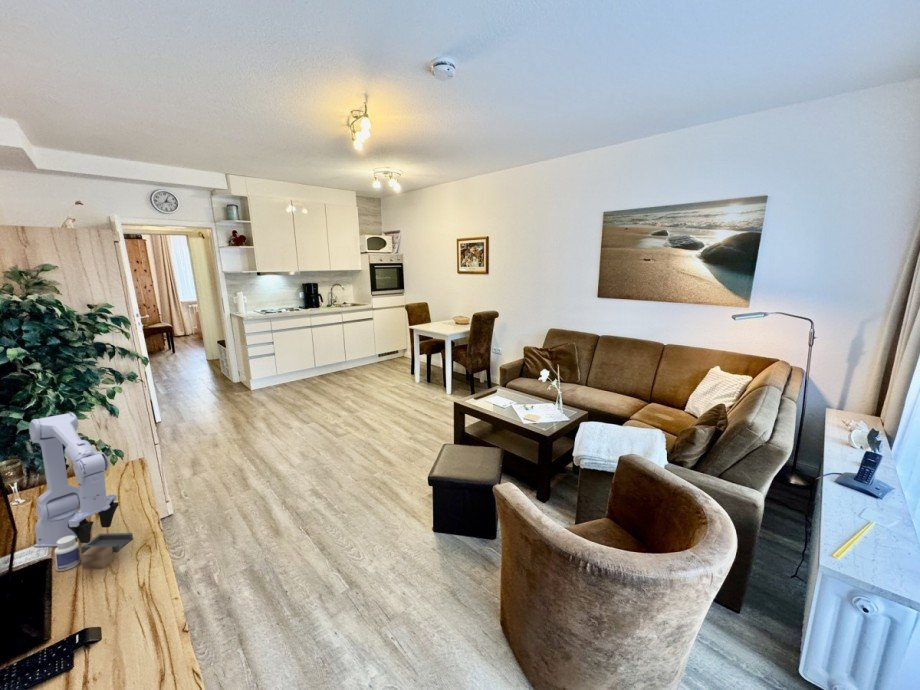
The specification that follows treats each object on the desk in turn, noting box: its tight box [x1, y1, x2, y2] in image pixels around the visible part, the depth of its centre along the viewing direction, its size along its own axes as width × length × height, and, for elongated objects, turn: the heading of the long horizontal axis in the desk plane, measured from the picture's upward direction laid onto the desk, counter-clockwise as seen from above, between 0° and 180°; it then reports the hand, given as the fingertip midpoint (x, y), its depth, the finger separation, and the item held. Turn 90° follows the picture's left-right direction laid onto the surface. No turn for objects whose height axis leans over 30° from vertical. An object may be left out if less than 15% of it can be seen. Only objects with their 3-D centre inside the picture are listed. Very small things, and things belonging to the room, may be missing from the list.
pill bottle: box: [53, 535, 81, 572], centre depth 115 cm, size 5×5×9 cm
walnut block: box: [81, 547, 114, 570], centre depth 116 cm, size 6×4×5 cm, turn 96°
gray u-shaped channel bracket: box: [80, 532, 134, 554], centre depth 125 cm, size 10×7×2 cm, turn 96°
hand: (96, 534), depth 115 cm, fingers open, 7 cm apart
